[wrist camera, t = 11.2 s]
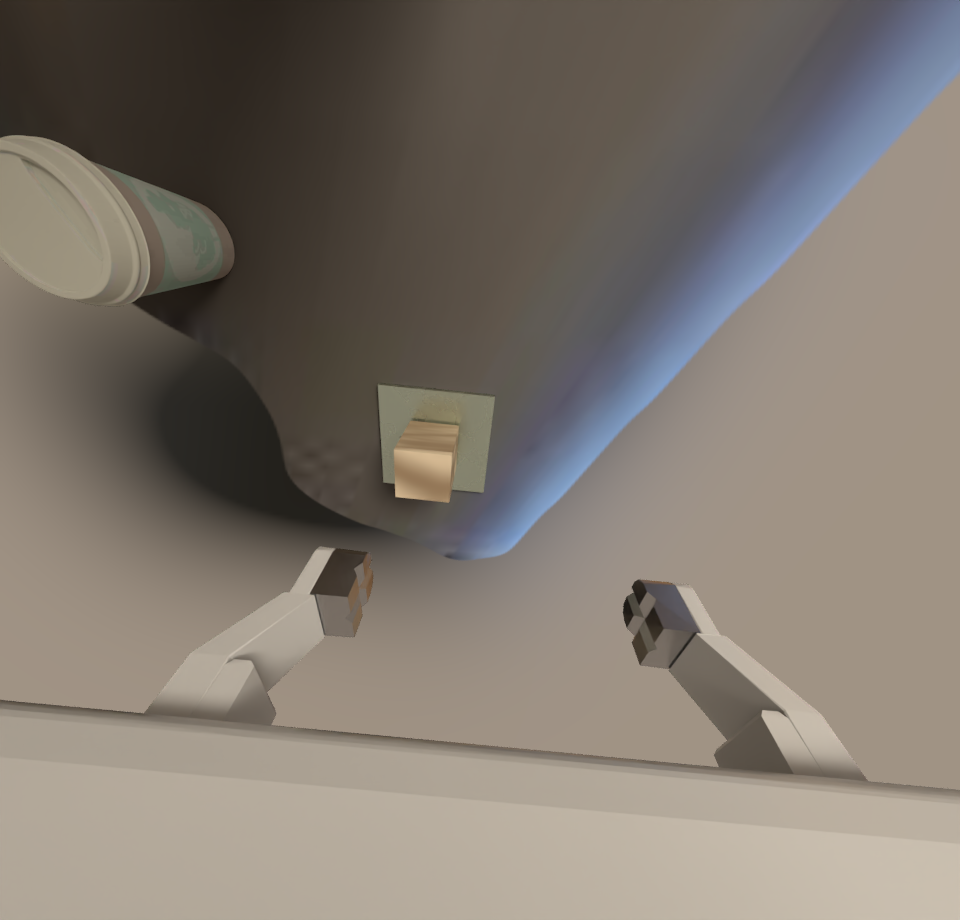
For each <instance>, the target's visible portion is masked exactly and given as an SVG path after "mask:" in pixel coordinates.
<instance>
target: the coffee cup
mask: <svg viewBox="0 0 960 920" xmlns="http://www.w3.org/2000/svg"><path fill="white" fill-rule="evenodd" d="M0 257H1V259H2V260H3V261H5V263H6V264H7V265H9V266H10V267H11V268H12V269H13V270H14V271H16V272H17V273H18V274H19V275H20V276H22V277H23V278H24V279H26V280H27V281H29V282H30V283H32V284H34V285H35V286H37V287H38V288H40V289H42V290H44V291H46V292H48V293H51V294H53V295H56V296H59V297H63V298H67V299H73V300H77V301H79V302H82V303H86V304H90V305H97V306H108V307H118V306H124V305H127V304H130V303H132V302H134V301H135V300H136V299H138V298H139V297H142V296H147V295H151V294H155V293H160V292H164V291H168V290H173V289H177V288H182V287H186V286H190V285H195V284H199V283H203V282H207V281H212V280H216V279H220V278H222V277H224V276H226V275H227V274H228V273H229V272H230V270H231V269H232V267H233V264H234V258H235V253H234V246H233V242H232V239H231V236H230V234H229V232H228V230H227V228H226V226H225V225H224V224H223V222H222V221H221V220H220V218H219V217H218V216H217V215H216V214H215V213H214V212H213V211H211V210H210V209H209V208H207V207H206V206H204V205H202V204H200V203H198V202H195V201H193V200H190V199H188V198H185V197H183V196H180V195H178V194H175V193H172V192H170V191H167V190H165V189H162V188H159V187H157V186H154V185H152V184H149V183H146V182H144V181H141V180H138V179H136V178H133V177H131V176H128V175H125V174H123V173H120V172H118V171H115V170H112V169H110V168H107V167H104V166H102V165H99V164H97V163H94V162H91V161H89V160H87V159H86V158H84V157H83V156H81V155H80V154H78V153H77V152H75V151H74V150H72V149H70V148H68V147H66V146H64V145H62V144H60V143H58V142H55V141H52V140H49V139H45V138H41V137H31V136H22V135H13V136H6V137H3V138H0Z"/></svg>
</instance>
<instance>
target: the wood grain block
mask: <svg viewBox="0 0 960 920" xmlns="http://www.w3.org/2000/svg"><path fill="white" fill-rule="evenodd" d="M458 435H459V426H457V425H448V424H438V423H428V422H419V421H410V422H409V424H408V426H407V427H406V429H405V431H404V433H403V434H402V436H401V438H400V440H399V441H398V443H397V445H396V447H395V448H394V471H395V496H396V497H400V498H410V499H420V500H430V501H439V502H449V500H450V496H451V491H452V486H453V481H454V476H455V471H456V465H457V450H458Z"/></svg>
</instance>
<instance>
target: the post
mask: <svg viewBox="0 0 960 920" xmlns="http://www.w3.org/2000/svg"><path fill="white" fill-rule="evenodd" d="M378 398H379V415H380V432H381V449H382V466H383V482H384V483H393V484H395V471H394V448H395V447H396V445H397V443H398V441H399V440H400V438H401V436H402V434H403V433H404V431H405V429H406V427H407V426H408V424H409V422H410V421H419V422H428V423H438V424H448V425H457V426H459V435H458V450H457V465H456V471H455V476H454V481H453V486H452V490H462V491H471V492H481V493H483V491H484V483H485V475H486V466H487V458H488V450H489V441H490V433H491V425H492V416H493V408H494V400H495V395H490V394H480V393H471V392H461V391H451V390H442V389H432V388H423V387H413V386H404V385H394V384H385V383H379V384H378Z"/></svg>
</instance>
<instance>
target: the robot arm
mask: <svg viewBox="0 0 960 920" xmlns="http://www.w3.org/2000/svg"><path fill="white" fill-rule="evenodd" d="M371 561H372V559H371V553H369V552H361V551H353V550H346V549H337V548H328V547H319V548H318V549H316V550H315V551H314V553H313V554H312V556H311V558H310V560H309V561H308V563H307V564H306V566H305V568H304V569H303V571H302V572H301V574H300V576H299V577H298V579H297V580H296V582H295V584H294V585H293V587H292V589H291V590H290V592H283V593H282V594H280V595H279V596H277V597H276V598H274V599H272V600H271V601H269V602H268V603H266V604H265V605H263V606H262V607H260V608H259V609H257V610H256V611H254V612H252V613H251V614H249V615H248V616H246V617H245V618H244V619H242V620H240V621H239V622H237V623H236V624H234V625H233V626H231V627H229V628H228V629H226V630H225V631H224V632H222V633H220V634H219V635H217V636H216V637H214V638H213V639H211V640H210V641H208V642H207V643H205V644H203V645H202V646H200V647H199V648H197V649H196V650H194V651H193V652H191V653H190V654H189V656H188V657H187V658H186V660H185V661H184V662H183V663H182V665H181V666H180V667H179V669H178V670H177V671H176V672H175V674H174V675H173V676H172V678H171V679H170V680H169V682H168V683H167V684H166V686H165V687H164V688H163V690H162V691H161V692H160V693H159V695H158V696H157V697H156V699H155V700H154V701H153V703H152V704H151V705H150V706H149V708H148V709H147V710H146V711H145V713H134V712H123V711H113V710H102V709H91V708H80V707H69V706H59V705H47V704H36V703H25V702H16V701H5V700H0V920H960V790H954V789H943V788H933V787H922V786H911V785H901V784H891V783H880V782H869V781H868V780H867V779H866V778H865V776H864V775H863V774H862V772H861V771H860V769H859V768H858V766H857V765H856V763H855V762H854V761H853V759H852V758H851V756H850V755H849V753H848V752H847V751H846V749H845V748H844V746H843V745H842V744H841V742H840V741H839V739H838V738H837V736H836V735H835V733H834V732H833V731H832V729H831V728H830V726H829V725H828V723H827V722H826V721H825V719H824V718H823V716H822V715H821V714H820V713H819V712H817V711H816V710H815V709H814V708H813V707H811V706H810V705H809V704H808V703H806V702H805V701H804V700H803V699H801V698H800V697H799V696H798V695H797V694H796V693H794V692H793V691H792V690H791V689H789V688H788V687H787V686H786V685H785V684H783V683H782V682H781V681H780V680H779V679H777V678H776V677H775V676H774V675H772V674H771V673H770V672H769V671H767V670H766V669H765V668H764V667H763V666H761V665H760V664H759V663H758V662H757V661H755V660H754V659H753V658H752V657H750V656H749V655H748V654H747V653H746V652H744V651H743V650H742V649H741V648H740V647H738V646H737V645H736V644H735V643H733V642H732V641H731V640H730V639H728V638H727V637H726V636H721V635H720V634H719V632H718V631H717V629H716V627H715V625H714V624H713V622H712V620H711V619H710V617H709V615H708V614H707V612H706V610H705V609H704V607H703V605H702V603H701V602H700V600H699V598H698V597H697V595H696V594H695V592H694V590H693V588H692V587H691V586H689V585H688V584H679V583H669V582H661V581H650V580H637V581H635V582H634V584H633V586H632V589H633V592H634V593H632V594H630V595H629V596H627V597H626V600H625V602H624V606H623V607H624V608H623V615H624V621H625V624H626V627H627V629H628V630H629V631H630V632H631V633H632V634H633V635H634V639H633V641H632V644H633V647H634V649H635V653H636V655H637V658H638V661H639V664H640V665H641V666H650V667H657V668H665V669H669V672H670V673H671V674H672V675H673V676H674V678H675V679H676V680H677V681H678V682H679V683H680V685H681V686H682V687H683V688H684V689H685V691H686V692H687V693H688V694H689V695H690V696H691V698H692V699H693V700H694V701H695V702H696V704H697V705H698V706H699V707H700V708H701V710H702V711H703V712H704V713H705V714H706V716H707V717H708V718H709V719H710V720H711V721H712V723H713V724H714V725H715V726H716V727H717V728H718V730H719V731H720V732H721V733H722V734H723V736H724V737H725V738H726V739H727V741H726V742H725V743H724V744H722V745H721V746H720V747H719V748H718V749H717V750H716V752H715V754H714V756H715V759H716V761H717V763H718V766H719V767H710V766H699V765H688V764H678V763H668V762H657V761H646V760H636V759H624V758H615V757H603V756H593V755H583V754H572V753H562V752H551V751H540V750H529V749H519V748H508V747H498V746H486V745H476V744H466V743H455V742H444V741H434V740H423V739H412V738H401V737H391V736H380V735H370V734H359V733H348V732H337V731H326V730H316V729H304V728H295V727H294V728H293V727H284V726H272V725H271V724H272V722H273V720H274V718H275V716H276V712H275V708H274V706H273V704H272V702H271V700H270V698H269V696H268V694H267V692H268V691H269V690H270V689H271V688H272V687H273V686H274V685H275V684H276V683H277V682H278V681H279V680H280V679H281V678H282V677H283V676H284V675H285V674H286V673H288V672H289V671H290V670H291V669H292V668H293V667H294V666H295V665H296V664H297V663H298V662H299V661H300V660H301V659H302V658H303V657H304V656H305V655H306V654H307V653H308V652H309V651H311V649H313V648H314V647H315V646H316V645H317V644H318V643H319V642H320V641H321V640H322V639H323V638H324V635H329V636H344V637H355V634H356V632H357V629H358V626H359V624H360V621H361V618H362V609H361V607H362V606H363V605H365V604H366V603H367V602H368V599H369V596H370V594H371V589H372V584H373V571H372V570H371V569H370V568H369V566H370V564H371Z"/></svg>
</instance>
